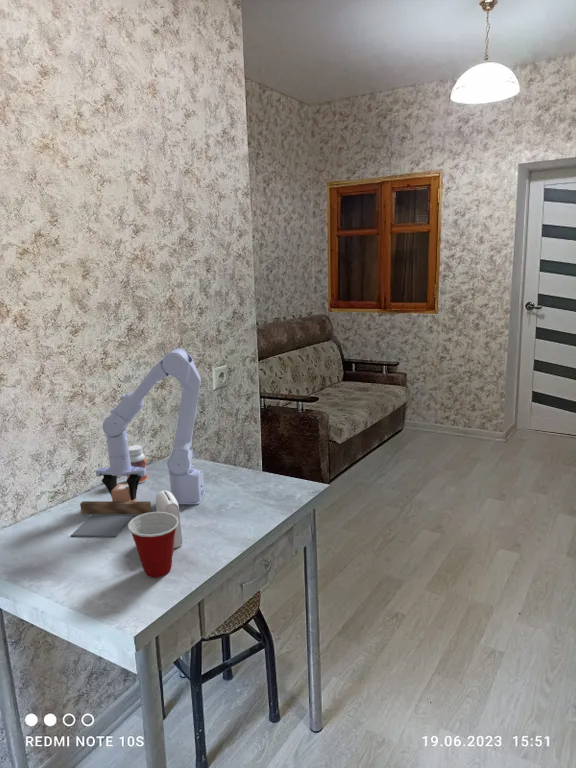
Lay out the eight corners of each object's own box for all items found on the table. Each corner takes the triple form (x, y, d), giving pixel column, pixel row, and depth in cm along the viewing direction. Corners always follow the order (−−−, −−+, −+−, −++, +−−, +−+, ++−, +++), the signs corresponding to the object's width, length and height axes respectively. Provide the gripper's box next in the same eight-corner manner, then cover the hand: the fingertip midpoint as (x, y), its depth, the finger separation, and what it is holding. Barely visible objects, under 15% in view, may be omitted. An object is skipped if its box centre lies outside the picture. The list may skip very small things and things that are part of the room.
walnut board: (151, 511, 151) (150, 501, 150) (149, 513, 149) (148, 503, 149) (84, 511, 153) (82, 501, 153) (81, 513, 152) (80, 503, 151)
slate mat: (133, 515, 149) (133, 514, 148) (115, 537, 137) (115, 535, 137) (92, 515, 150) (92, 514, 150) (70, 536, 138) (70, 535, 138)
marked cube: (136, 499, 159) (134, 483, 158) (129, 507, 154) (127, 490, 153) (120, 499, 160) (118, 483, 159) (113, 507, 155) (111, 490, 154)
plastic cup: (169, 587, 114) (163, 535, 111) (124, 581, 117) (117, 530, 114) (191, 560, 124) (187, 512, 121) (149, 555, 127) (144, 508, 124)
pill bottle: (151, 480, 174) (147, 447, 171) (133, 486, 170) (129, 452, 167) (141, 475, 178) (137, 443, 176) (124, 481, 174) (120, 448, 172)
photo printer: (157, 533, 138) (152, 488, 135) (174, 529, 139) (169, 484, 137) (167, 551, 129) (162, 503, 126) (184, 546, 130) (180, 499, 128)
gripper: (148, 449, 157) (153, 493, 160) (101, 450, 159) (106, 493, 162) (139, 458, 150) (144, 503, 153) (90, 458, 152) (96, 503, 155)
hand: (124, 498), depth 157 cm, fingers closed on marked cube, 5 cm apart
